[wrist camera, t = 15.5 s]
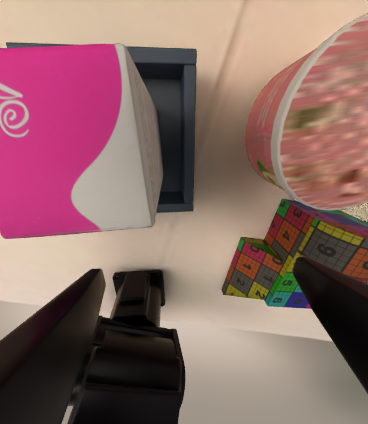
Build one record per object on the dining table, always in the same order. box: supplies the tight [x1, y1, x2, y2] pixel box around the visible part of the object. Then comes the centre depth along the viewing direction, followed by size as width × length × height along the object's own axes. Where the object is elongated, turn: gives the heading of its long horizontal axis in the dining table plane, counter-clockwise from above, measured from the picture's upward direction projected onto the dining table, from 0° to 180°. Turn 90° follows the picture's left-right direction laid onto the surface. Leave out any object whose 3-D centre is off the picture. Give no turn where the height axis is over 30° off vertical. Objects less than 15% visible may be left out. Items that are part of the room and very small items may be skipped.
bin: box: [6, 43, 197, 213], centre depth 15 cm, size 11×11×4 cm
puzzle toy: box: [222, 199, 368, 309], centre depth 20 cm, size 15×10×8 cm
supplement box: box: [0, 43, 164, 239], centre depth 11 cm, size 6×6×12 cm
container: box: [245, 13, 368, 211], centre depth 14 cm, size 10×10×8 cm
